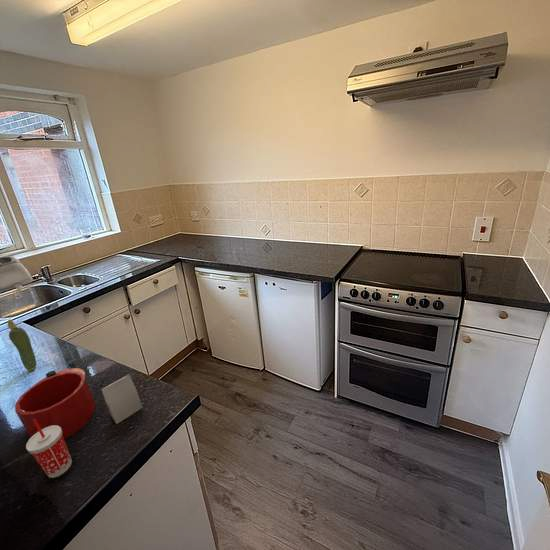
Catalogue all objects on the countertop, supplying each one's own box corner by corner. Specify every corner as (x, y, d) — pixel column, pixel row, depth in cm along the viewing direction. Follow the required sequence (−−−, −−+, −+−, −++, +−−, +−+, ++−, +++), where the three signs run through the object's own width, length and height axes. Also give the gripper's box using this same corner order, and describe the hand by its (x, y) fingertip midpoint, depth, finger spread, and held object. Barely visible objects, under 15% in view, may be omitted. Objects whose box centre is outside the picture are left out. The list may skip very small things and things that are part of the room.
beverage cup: (71, 449, 69) (47, 403, 64) (79, 464, 65) (55, 416, 60) (40, 470, 65) (12, 422, 60) (47, 487, 61) (18, 438, 56)
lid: (27, 417, 81) (18, 401, 79) (24, 389, 92) (17, 374, 90) (90, 386, 90) (84, 371, 88) (81, 364, 101) (75, 350, 99)
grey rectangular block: (142, 407, 79) (132, 377, 76) (116, 424, 75) (103, 393, 71) (137, 401, 82) (126, 371, 78) (111, 416, 78) (99, 386, 74)
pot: (33, 455, 69) (15, 425, 66) (29, 420, 80) (14, 392, 76) (101, 418, 77) (89, 389, 74) (90, 390, 88) (79, 364, 85)
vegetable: (28, 368, 102) (3, 317, 95) (43, 363, 104) (19, 313, 97) (25, 375, 99) (-2, 323, 92) (41, 370, 100) (16, 318, 93)
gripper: (-57, 276, 96) (-44, 314, 93) (19, 254, 105) (33, 288, 103) (-46, 283, 101) (-33, 319, 99) (26, 262, 111) (39, 294, 108)
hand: (1, 303), depth 101 cm, fingers open, 8 cm apart
